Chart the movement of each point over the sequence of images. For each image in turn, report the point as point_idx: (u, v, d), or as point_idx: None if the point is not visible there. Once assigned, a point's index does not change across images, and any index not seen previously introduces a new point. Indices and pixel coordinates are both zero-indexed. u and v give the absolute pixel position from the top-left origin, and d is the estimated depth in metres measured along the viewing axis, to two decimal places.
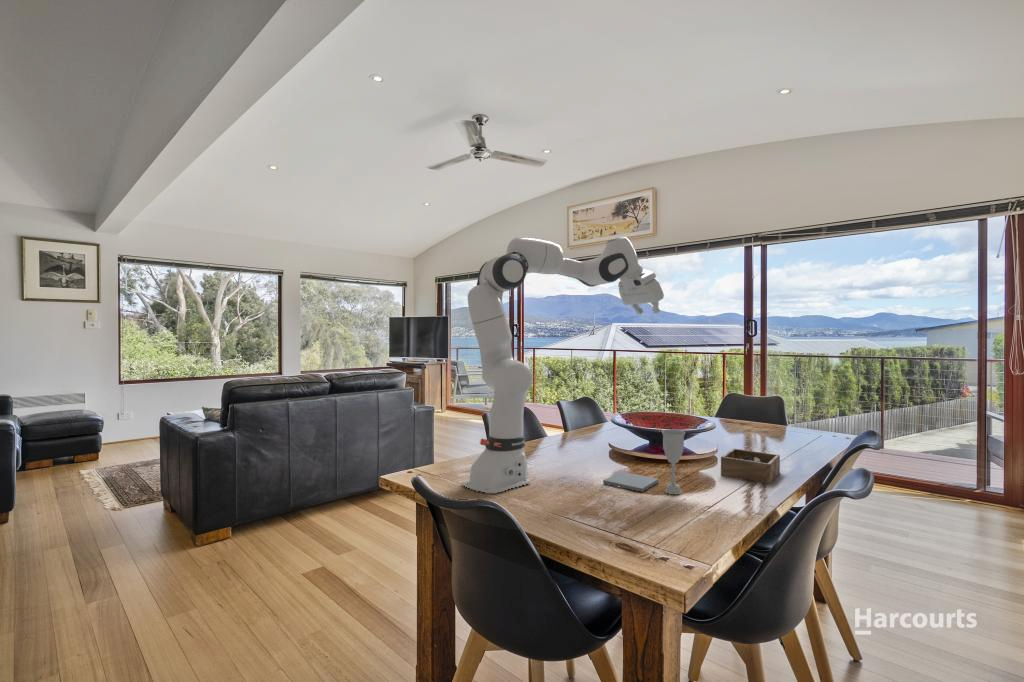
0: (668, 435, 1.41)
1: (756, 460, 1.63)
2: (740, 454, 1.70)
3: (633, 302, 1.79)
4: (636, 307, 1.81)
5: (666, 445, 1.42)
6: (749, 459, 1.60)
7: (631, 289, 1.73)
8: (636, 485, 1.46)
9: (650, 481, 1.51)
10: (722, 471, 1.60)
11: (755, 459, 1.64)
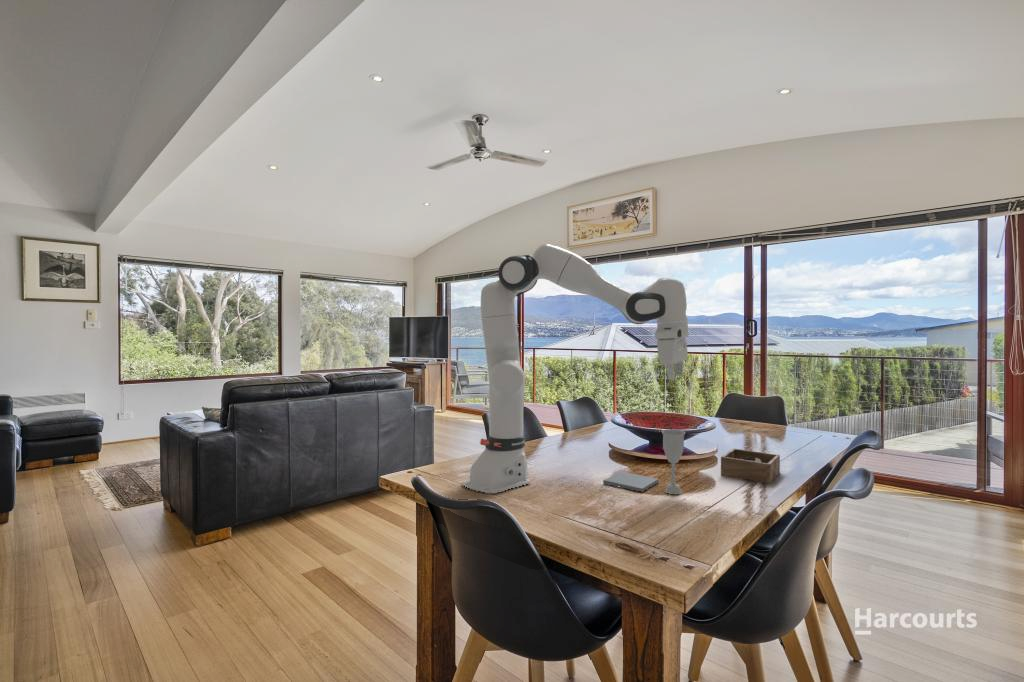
0: (668, 435, 1.41)
1: (757, 461, 1.62)
2: (740, 454, 1.70)
3: None
4: (678, 366, 1.52)
5: (666, 445, 1.42)
6: (750, 460, 1.59)
7: None
8: (636, 485, 1.46)
9: (650, 481, 1.51)
10: (722, 471, 1.60)
11: (756, 460, 1.63)
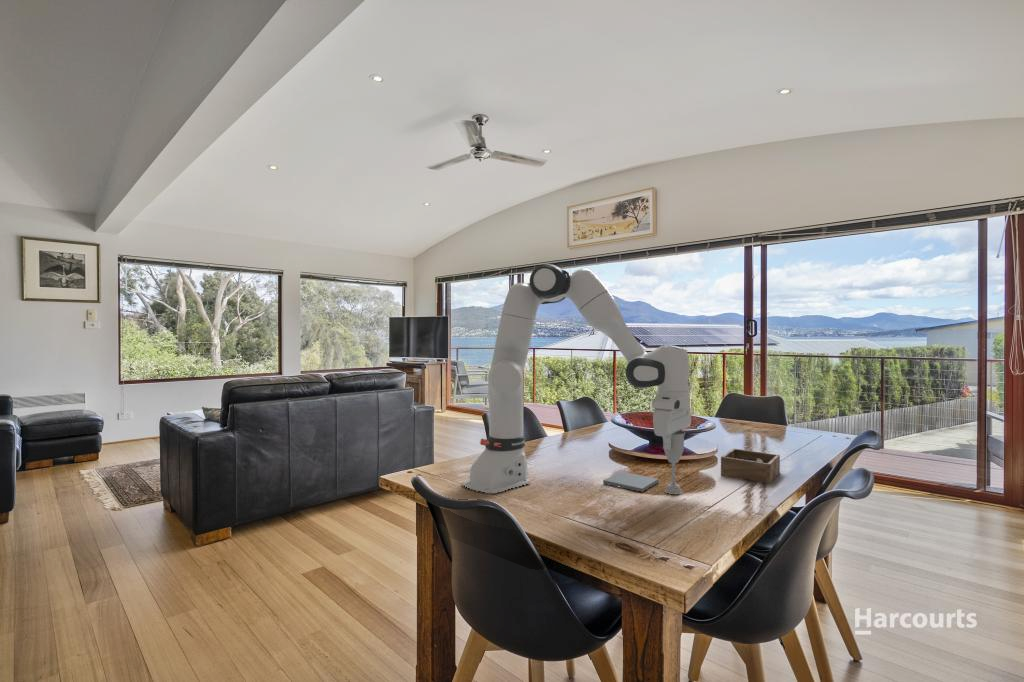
0: None
1: (759, 461, 1.62)
2: (740, 454, 1.70)
3: None
4: None
5: None
6: (752, 460, 1.59)
7: None
8: (636, 485, 1.46)
9: (650, 481, 1.51)
10: (722, 471, 1.60)
11: (758, 460, 1.62)
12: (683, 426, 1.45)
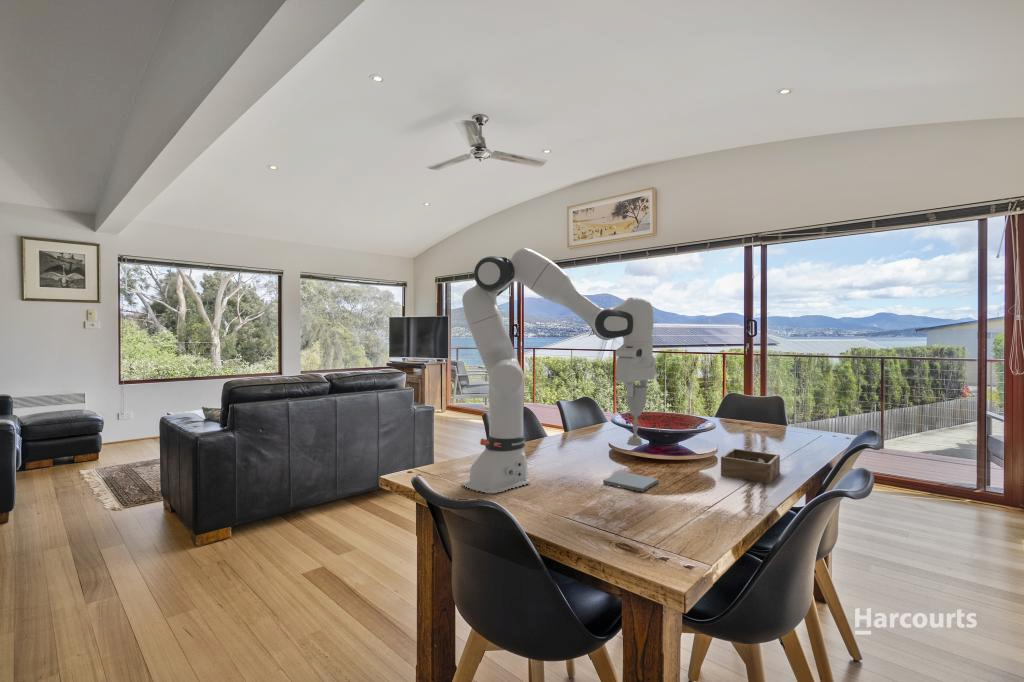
0: None
1: None
2: (740, 454, 1.70)
3: None
4: (642, 385, 1.54)
5: (629, 398, 1.49)
6: (753, 460, 1.58)
7: None
8: (636, 485, 1.46)
9: (650, 481, 1.51)
10: (722, 471, 1.60)
11: (759, 461, 1.62)
12: (646, 376, 1.52)
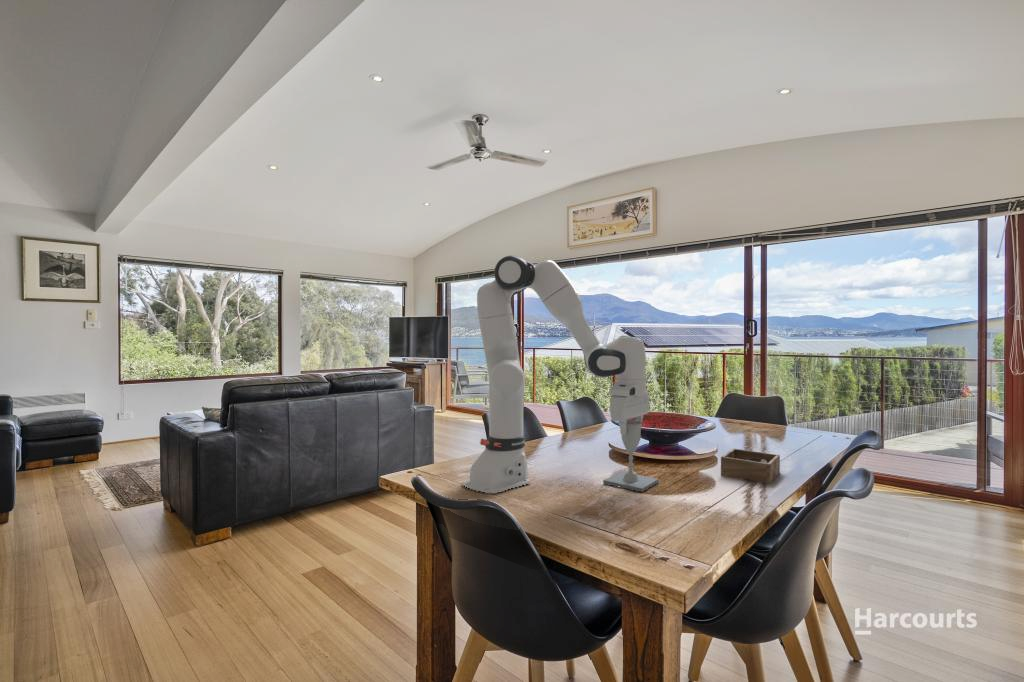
0: None
1: (763, 462, 1.61)
2: (740, 454, 1.70)
3: None
4: (637, 420, 1.56)
5: (624, 435, 1.50)
6: (755, 461, 1.58)
7: None
8: (636, 485, 1.46)
9: (650, 481, 1.51)
10: (722, 471, 1.60)
11: (762, 461, 1.61)
12: (640, 412, 1.53)
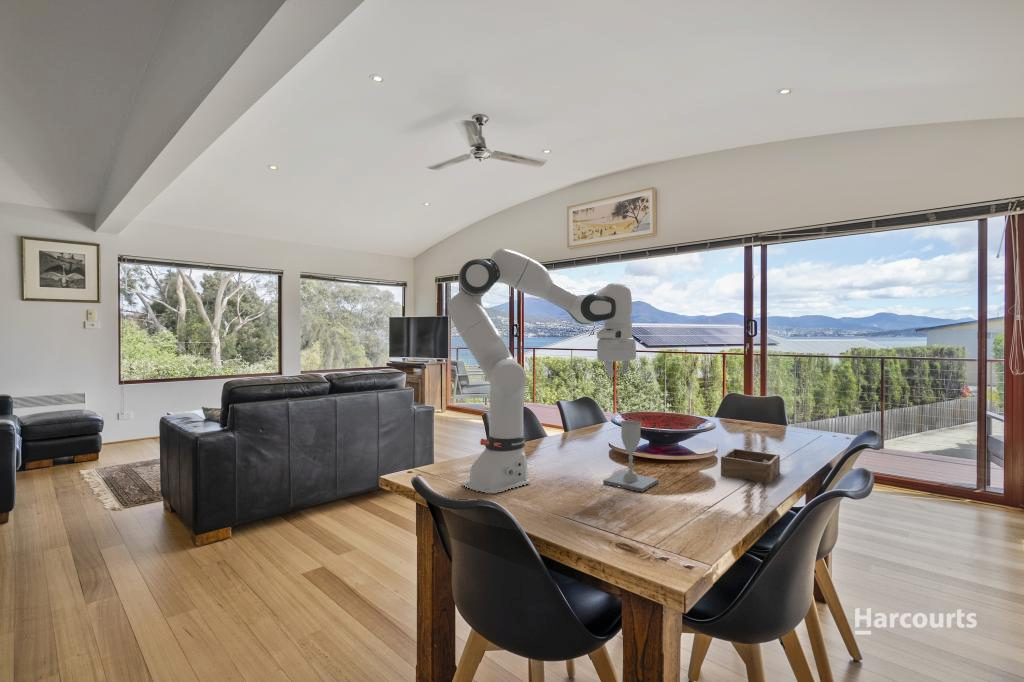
0: (625, 425, 1.50)
1: None
2: (740, 454, 1.70)
3: None
4: (624, 365, 1.65)
5: (624, 435, 1.50)
6: (756, 461, 1.57)
7: None
8: (636, 485, 1.46)
9: (650, 481, 1.51)
10: (722, 471, 1.60)
11: (764, 462, 1.60)
12: (627, 357, 1.62)
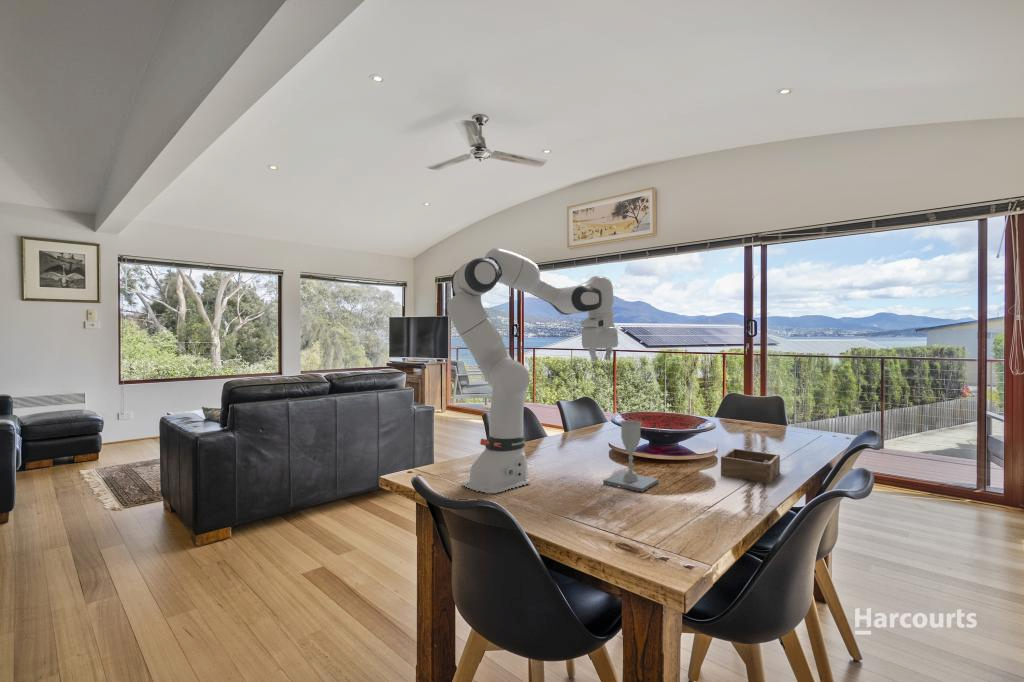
0: (625, 425, 1.50)
1: None
2: (740, 454, 1.70)
3: None
4: (607, 352, 1.78)
5: (624, 435, 1.50)
6: (756, 461, 1.57)
7: None
8: (636, 485, 1.46)
9: (650, 481, 1.51)
10: (722, 471, 1.60)
11: (765, 462, 1.60)
12: (609, 344, 1.75)
